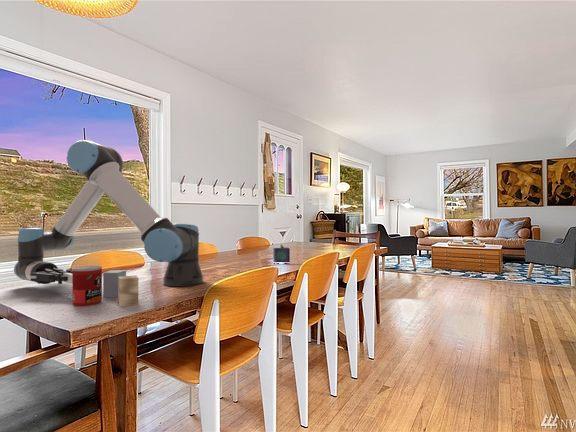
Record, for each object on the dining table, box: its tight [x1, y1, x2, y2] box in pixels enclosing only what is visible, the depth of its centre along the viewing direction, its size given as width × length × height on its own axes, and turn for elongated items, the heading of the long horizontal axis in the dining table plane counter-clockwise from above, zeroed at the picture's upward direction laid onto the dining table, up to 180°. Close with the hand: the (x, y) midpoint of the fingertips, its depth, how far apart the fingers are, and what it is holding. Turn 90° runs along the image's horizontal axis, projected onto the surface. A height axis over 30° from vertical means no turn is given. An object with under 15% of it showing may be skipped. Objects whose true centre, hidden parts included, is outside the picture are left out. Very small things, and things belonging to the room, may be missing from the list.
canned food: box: [72, 264, 103, 307], centre depth 104 cm, size 8×8×11 cm
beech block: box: [117, 274, 139, 307], centre depth 104 cm, size 5×5×8 cm
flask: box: [272, 244, 291, 263], centre depth 190 cm, size 9×3×11 cm, turn 84°
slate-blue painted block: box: [102, 269, 127, 298], centre depth 115 cm, size 5×5×8 cm
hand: (75, 279), depth 108 cm, fingers closed
